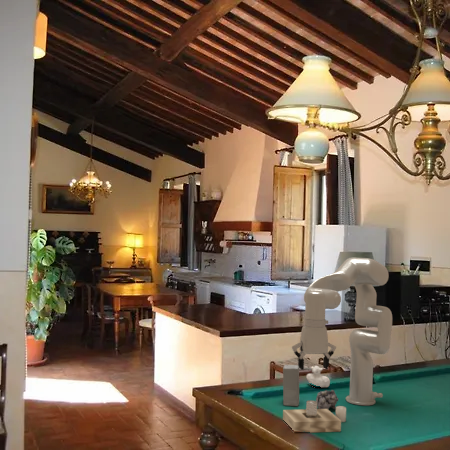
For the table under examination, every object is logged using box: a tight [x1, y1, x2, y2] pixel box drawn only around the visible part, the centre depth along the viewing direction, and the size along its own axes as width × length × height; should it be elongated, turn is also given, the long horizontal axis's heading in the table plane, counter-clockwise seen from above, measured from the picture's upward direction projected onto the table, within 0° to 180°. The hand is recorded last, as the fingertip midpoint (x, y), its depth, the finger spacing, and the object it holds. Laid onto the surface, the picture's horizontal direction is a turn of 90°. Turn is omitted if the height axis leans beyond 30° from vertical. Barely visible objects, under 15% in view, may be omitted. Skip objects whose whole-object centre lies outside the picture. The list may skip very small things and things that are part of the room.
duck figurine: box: [306, 365, 331, 388], centre depth 274 cm, size 12×8×11 cm
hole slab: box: [282, 408, 342, 433], centre depth 219 cm, size 18×14×4 cm
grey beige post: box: [305, 400, 318, 418], centre depth 219 cm, size 4×4×9 cm
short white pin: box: [335, 405, 347, 423], centre depth 227 cm, size 4×4×5 cm
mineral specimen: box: [315, 389, 339, 410], centre depth 239 cm, size 12×9×10 cm
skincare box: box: [282, 364, 300, 407], centre depth 247 cm, size 8×7×16 cm
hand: (313, 368), depth 220 cm, fingers open, 9 cm apart
